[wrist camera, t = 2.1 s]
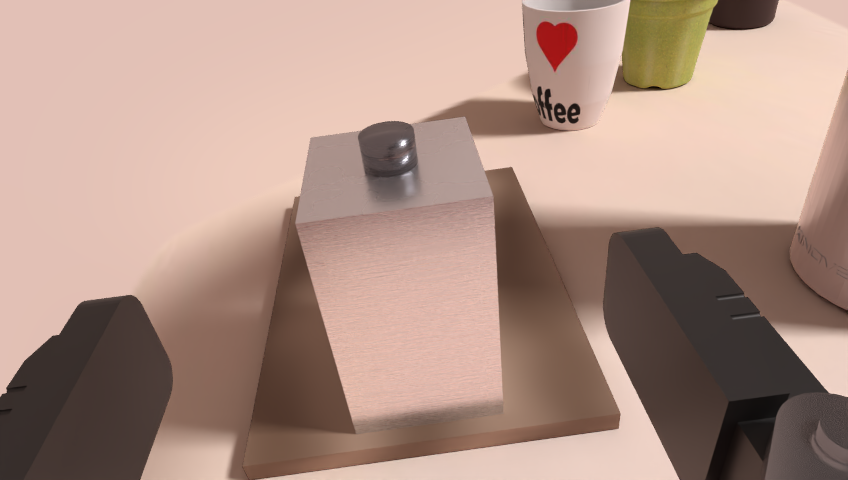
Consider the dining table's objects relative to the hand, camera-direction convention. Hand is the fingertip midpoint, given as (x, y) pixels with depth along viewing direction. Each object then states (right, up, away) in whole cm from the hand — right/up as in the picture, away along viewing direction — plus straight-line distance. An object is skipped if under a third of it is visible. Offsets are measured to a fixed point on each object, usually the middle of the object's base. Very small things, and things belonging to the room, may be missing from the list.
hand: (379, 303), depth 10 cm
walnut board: (0, -2, +24) cm, 24 cm away
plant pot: (+23, +16, +45) cm, 53 cm away
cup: (+14, +12, +40) cm, 44 cm away
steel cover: (+1, -5, +17) cm, 18 cm away
